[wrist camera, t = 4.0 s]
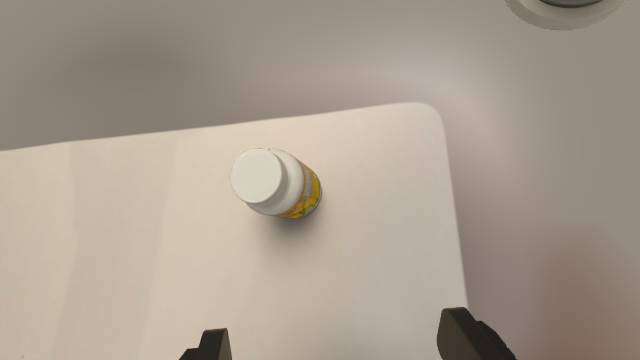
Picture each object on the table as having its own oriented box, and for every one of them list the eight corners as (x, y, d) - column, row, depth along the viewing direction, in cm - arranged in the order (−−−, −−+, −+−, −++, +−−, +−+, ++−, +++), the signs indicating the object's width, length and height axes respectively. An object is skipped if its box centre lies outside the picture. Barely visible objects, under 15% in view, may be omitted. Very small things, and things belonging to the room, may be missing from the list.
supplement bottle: (321, 164, 30) (291, 134, 21) (323, 217, 29) (292, 211, 20) (271, 168, 31) (222, 141, 22) (271, 219, 30) (219, 214, 21)
